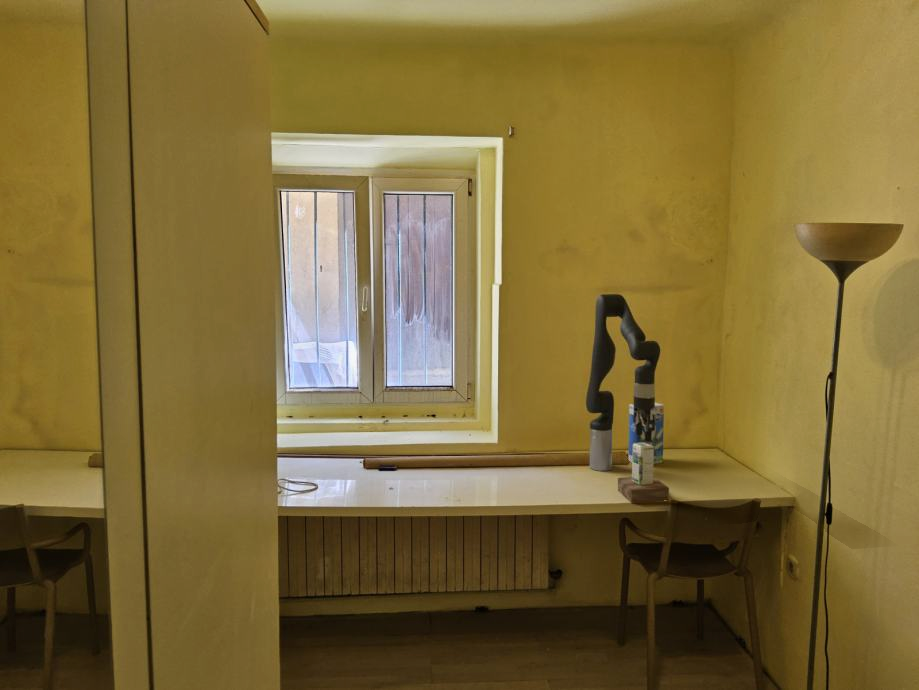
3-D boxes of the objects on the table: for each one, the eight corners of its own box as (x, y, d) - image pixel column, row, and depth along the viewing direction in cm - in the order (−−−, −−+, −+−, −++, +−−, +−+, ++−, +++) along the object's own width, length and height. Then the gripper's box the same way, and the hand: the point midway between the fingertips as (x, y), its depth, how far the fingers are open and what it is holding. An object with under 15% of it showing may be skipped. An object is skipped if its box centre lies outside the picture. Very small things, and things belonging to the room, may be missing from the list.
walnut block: (617, 490, 248) (618, 477, 247) (653, 488, 249) (653, 476, 249) (631, 503, 234) (631, 489, 233) (668, 501, 235) (668, 487, 235)
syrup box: (631, 481, 243) (631, 443, 242) (644, 479, 245) (645, 441, 243) (640, 485, 238) (640, 447, 236) (653, 483, 240) (654, 445, 238)
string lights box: (637, 466, 278) (638, 407, 276) (627, 461, 285) (628, 403, 283) (663, 462, 283) (664, 404, 280) (653, 458, 290) (653, 401, 287)
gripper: (627, 391, 244) (626, 433, 246) (642, 399, 230) (641, 443, 232) (646, 391, 245) (645, 433, 247) (662, 398, 231) (661, 442, 232)
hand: (643, 438), depth 239 cm, fingers open, 8 cm apart
